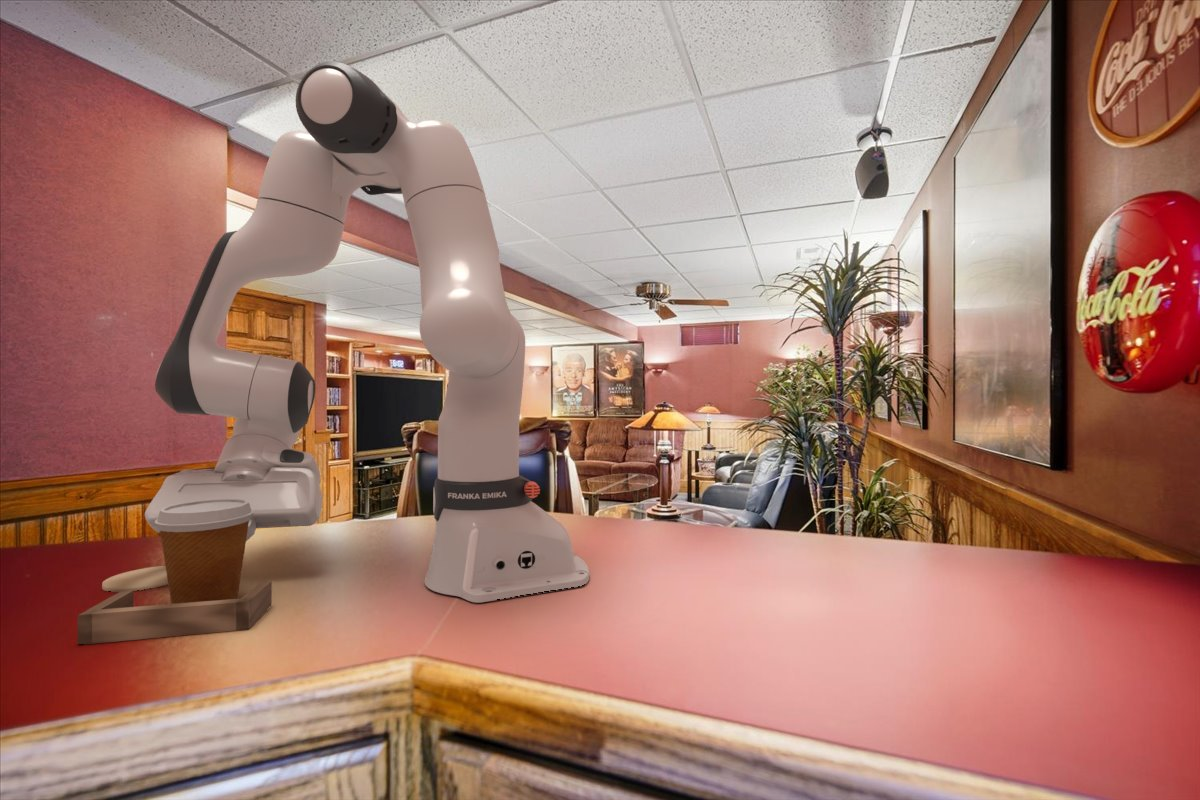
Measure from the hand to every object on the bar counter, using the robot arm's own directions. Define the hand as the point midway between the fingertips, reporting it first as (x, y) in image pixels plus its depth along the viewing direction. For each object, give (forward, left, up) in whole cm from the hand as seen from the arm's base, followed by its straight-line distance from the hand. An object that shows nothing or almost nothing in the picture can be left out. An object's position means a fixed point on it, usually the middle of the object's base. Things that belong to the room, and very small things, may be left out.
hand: (222, 554), depth 67 cm
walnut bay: (0, +9, -5) cm, 10 cm away
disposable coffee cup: (0, +4, -5) cm, 7 cm away
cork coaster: (+12, -8, -5) cm, 15 cm away
